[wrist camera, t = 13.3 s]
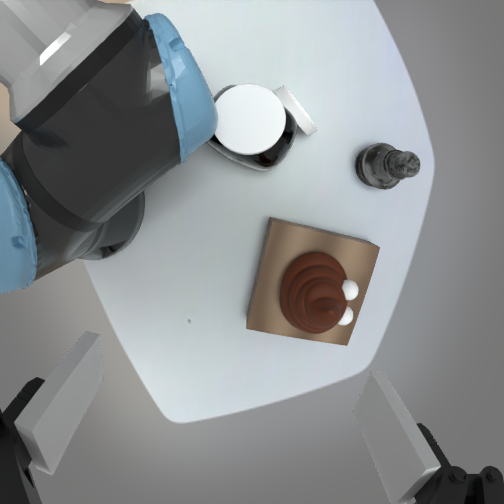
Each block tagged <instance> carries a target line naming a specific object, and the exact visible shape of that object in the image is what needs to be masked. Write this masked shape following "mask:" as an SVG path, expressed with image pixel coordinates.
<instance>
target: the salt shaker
mask: <svg viewBox="0 0 504 504" xmlns="http://www.w3.org/2000/svg"><path fill="white" fill-rule="evenodd" d="M355 168H356V173H357V175H358V177H359V178H360V180H361V181H362V182H364V183H365V184H367V185H369V186H374V187H376V188H379V189H391V188H392V187H394V186H396V185H397V184H398V183H399V182H400V180H403V179H405V178H406V177H413V176H415V175H416V174H417V173H418V172H419V170H420V161H419V158H418V157H417V156H416V155H415V154H414V153H412V152H409V151H405V152H402V151H400V150H396V149H395V148H394V147H393V146H391V145H389V144H386V143H377V144H374V145H372V146H371V147H370V148H367V149H365V150H363V151H362V152H361V153H359V155H358V157H357V159H356V164H355Z"/></svg>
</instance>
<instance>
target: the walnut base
mask: <svg viewBox="0 0 504 504" xmlns="http://www.w3.org/2000/svg"><path fill="white" fill-rule="evenodd" d="M379 249H380V247H378V246H377V245H375V244H373V243H371V242H369V241H366V240H362V239H358V238H354V237H350V236H346V235H342V234H338V233H334V232H330V231H326V230H322V229H318V228H314V227H310V226H306V225H301V224H297V223H293V222H289V221H284V220H280V219H276V218H272V217H270V221H269V225H268V229H267V234H266V238H265V242H264V246H263V250H262V255H261V259H260V263H259V267H258V271H257V275H256V280H255V284H254V288H253V292H252V296H251V300H250V304H249V308H248V313H247V326H246V329H250V330H256V331H261V332H266V333H272V334H277V335H283V336H288V337H294V338H300V339H306V340H312V341H319V342H325V343H332V344H339V345H346V346H347V345H348V342H349V339H350V337H351V334H352V331H353V329H354V326H355V323H356V320H357V318H358V315H359V312H360V309H361V306H362V303H363V300H364V297H365V295H366V291H367V288H368V285H369V282H370V279H371V276H372V273H373V270H374V266H375V263H376V260H377V256H378V253H379ZM311 252H322V253H326V254H329V255H331V256H332V257H334V258H335V259H336V260H337V261H338V262H339V263H340V264H341V265H342V267H343V269H344V271H345V273H346V276H347V279H348V280H352V281H354V282H355V283H356V284H357V286H358V287H359V294H358V295H357V296H356V298H354V299H352V300H348V303H347V306H348V307H350V308H351V310H352V311H353V313H354V318H353V320H352V321H351V322H350V323H349V324H347V325H339V324H337V325H335V326H334V327H333V328H332V329H330V330H328V331H326V332H324V333H320V334H310V333H306V332H303V331H301V330H299V329H297V328H295V327H293V326H292V325H291V324H290V323H289V322H288V321H287V320H286V319H285V317H284V315H283V313H282V311H281V307H280V293H281V284H282V280H283V277H284V275H285V272H286V271H287V269H288V267H289V266H290V265H291V264H292V263H293V262H294V261H295V260H296V259H297V258H299V257H300V256H302V255H304V254H307V253H311Z"/></svg>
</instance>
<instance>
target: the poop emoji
mask: <svg viewBox="0 0 504 504" xmlns="http://www.w3.org/2000/svg"><path fill="white" fill-rule="evenodd" d="M358 294H359V287H358V286H357V284H356V283H355V282H354V281H352V280H348V279H347V276H346V273H345V271H344V269H343V267H342V265H341V264H340V263H339V262H338V261H337V260H336V259H335V258H334V257H332V256H331V255H329V254H326V253H322V252H311V253H307V254H304V255H302V256H300V257H299V258H297V259H296V260H295V261H294V262H293V263H292V264H291V265H290V266H289V267H288V269H287V271H286V272H285V275H284V277H283V280H282V284H281V293H280V307H281V311H282V313H283V315H284V317H285V319H286V320H287V321H288V322H289V323H290V324H291V325H292V326H293V327H295V328H297V329H299V330H301V331H303V332H306V333H310V334H320V333H324V332H326V331H328V330H330V329H332V328H333V327H334V326H335V325H337V324H339V325H347V324H349V323H350V322H351V321H352V320H353V318H354V313H353V311H352V310H351V308H350V307H348V306H347V303H348V300H352V299H354V298H356V296H357V295H358Z"/></svg>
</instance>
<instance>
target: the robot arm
mask: <svg viewBox="0 0 504 504" xmlns="http://www.w3.org/2000/svg"><path fill="white" fill-rule="evenodd" d="M0 82H1V83H2V84H3V85H4V86H6V87H7V88H8V92H9V95H10V120H11V121H12V122H13V123H14V124H15V125H16V126H18V127H19V128H20V129H21V130H22V131H21V132H20V133H19V134H18V135H17V137H16V138H15V139H14V140H13V141H12V143H11V144H10V145H9V147H8V148H7V149H6V150H5V152H4V153H2V154H1V155H0V293H9V292H13V291H15V290H17V289H20V288H22V289H24V288H26V287H29V286H30V285H31V284H32V283H33V281H35V280H37V279H39V278H41V277H43V276H44V275H46V274H48V273H50V272H52V271H54V270H56V269H57V268H59V267H61V266H63V265H65V264H67V263H69V262H71V261H73V260H75V259H77V258H80V259H87V260H100V259H104V258H108V257H110V256H112V255H114V254H116V253H117V252H119V251H121V250H122V249H124V248H125V247H126V246H127V245H128V244H129V243H130V242H131V241H132V240H133V238H134V237H135V235H136V234H137V232H138V230H139V228H140V225H141V222H142V219H143V214H144V192H143V190H144V189H145V188H147V187H148V186H149V185H150V184H152V183H153V182H154V181H156V180H157V179H158V178H159V177H161V176H162V175H163V174H165V173H166V172H167V171H169V170H170V169H171V168H173V167H174V166H175V165H177V164H179V165H180V164H182V163H184V161H185V160H186V158H187V156H189V155H190V154H191V153H192V152H194V151H195V150H196V149H198V148H199V147H200V146H202V145H203V144H204V143H205V142H207V141H208V140H209V139H210V138H211V137H212V136H213V135H214V133H215V131H216V128H217V125H218V114H217V109H216V106H215V103H214V100H213V97H212V95H211V92H210V90H209V87H208V85H207V83H206V81H205V79H204V77H203V75H202V73H201V70H200V68H199V67H198V65H197V63H196V61H195V59H194V57H193V56H192V54H191V52H190V50H189V49H188V48H187V47H185V46H184V42H183V40H182V39H181V37H180V35H179V33H178V31H177V29H176V28H175V27H174V25H173V24H172V23H171V21H170V20H169V19H168V18H167V17H166V16H164V15H163V14H160V13H155V14H153V15H147V16H146V17H145V18H144V19H143V20H142V18H141V17H140V16H139V15H138V13H137V12H136V11H135V9H134V8H133V7H132V6H131V4H119V3H104V2H101V1H99V0H0ZM103 380H104V376H103V366H102V355H101V340H100V335H99V334H96V333H92V332H88V331H86V332H85V333H84V334H83V335H82V336H81V338H80V339H79V340H78V341H77V342H76V344H75V345H74V346H73V347H72V348H71V350H70V351H69V352H68V353H67V354H66V356H65V357H64V358H63V359H62V361H61V362H60V363H59V364H58V365H57V367H56V368H55V369H54V370H53V372H52V373H51V374H50V376H49V377H48V378H47V379H46V380H43V379H41V378H38V377H36V378H34V379H33V380H31V381H29V382H27V384H26V385H25V386H24V387H23V388H22V390H21V391H20V392H19V394H18V395H17V397H16V398H14V400H13V401H12V402H11V403H10V405H9V406H8V407H7V408H6V410H5V411H4V412H3V413H2V412H1V409H0V504H42V502H41V500H40V497H39V495H38V492H37V489H36V486H35V483H34V480H33V477H32V474H31V471H30V469H29V467H28V466H29V464H30V462H31V460H32V461H33V463H34V465H35V467H36V468H37V469H39V470H41V471H44V472H46V473H48V474H51V475H53V474H54V471H55V469H56V467H57V465H58V463H59V461H60V459H61V457H62V455H63V453H64V451H65V450H66V447H67V446H68V444H69V442H70V440H71V438H72V436H73V434H74V432H75V430H76V428H77V426H78V425H79V423H80V421H81V419H82V417H83V416H84V414H85V412H86V410H87V408H88V406H89V405H90V403H91V401H92V399H93V397H94V396H95V394H96V392H97V390H98V389H99V387H100V385H101V383H102V381H103ZM353 414H354V416H355V418H356V421H357V423H358V425H359V428H360V430H361V432H362V435H363V437H364V439H365V442H366V444H367V447H368V449H369V452H370V454H371V456H372V459H373V461H374V464H375V466H376V469H377V471H378V473H379V476H380V478H381V481H382V483H383V486H384V488H385V491H386V493H387V496H388V498H389V501H390V503H391V504H407V503H408V502H409V501H410V500H411V499H412V498H413V497H415V499H416V502H415V503H414V504H504V481H503V476H502V474H501V472H500V471H499V470H498V469H497V468H495V467H492V466H487V467H485V468H484V469H483V470H482V471H481V472H480V473H479V474H467V473H466V472H465V471H464V470H463V469H462V468H460V467H457V466H451V465H450V463H449V462H448V460H447V458H446V457H445V455H444V454H443V452H442V450H441V449H440V447H439V445H437V442H436V441H435V439H433V436H432V434H431V433H430V431H429V430H428V429H427V428H426V427H425V426H424V425H422V424H421V423H418V424H416V423H415V421H414V420H413V418H412V416H411V415H410V413H409V412H408V410H407V408H406V407H405V405H404V403H403V402H402V401H401V399H400V397H399V396H398V394H397V392H396V391H395V389H394V388H393V386H392V385H391V383H390V381H389V380H388V378H387V377H386V375H385V374H384V372H375V371H371V372H370V374H369V376H368V378H367V381H366V383H365V385H364V388H363V390H362V392H361V394H360V396H359V398H358V400H357V403H356V405H355V407H354V409H353Z"/></svg>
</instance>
